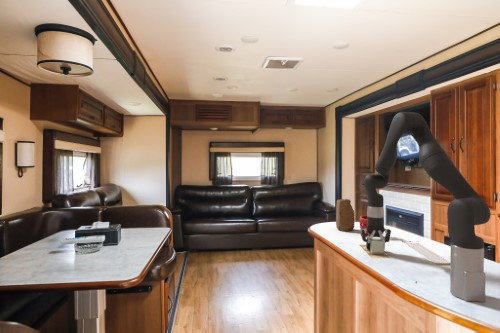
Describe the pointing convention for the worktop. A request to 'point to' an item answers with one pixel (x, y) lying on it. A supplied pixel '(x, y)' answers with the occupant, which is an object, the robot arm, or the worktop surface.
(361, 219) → the plant pot
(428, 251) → the baseboard
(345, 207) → the block
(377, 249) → the block
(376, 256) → the oak board
